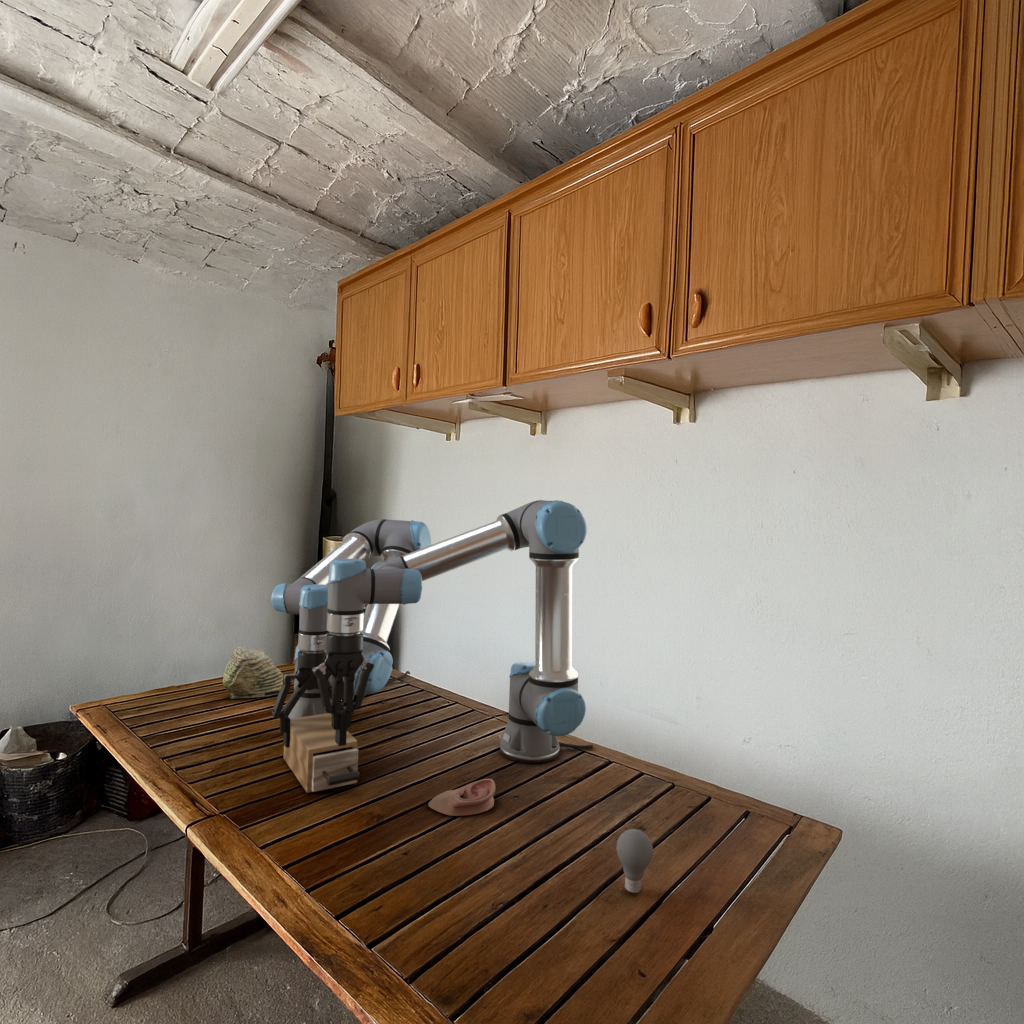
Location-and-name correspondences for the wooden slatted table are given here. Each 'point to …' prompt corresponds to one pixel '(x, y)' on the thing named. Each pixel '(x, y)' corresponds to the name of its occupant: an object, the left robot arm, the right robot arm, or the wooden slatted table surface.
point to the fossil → (251, 674)
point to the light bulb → (634, 857)
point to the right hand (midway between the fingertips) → (340, 743)
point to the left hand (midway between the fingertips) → (311, 741)
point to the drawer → (334, 768)
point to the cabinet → (311, 744)
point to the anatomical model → (466, 799)
